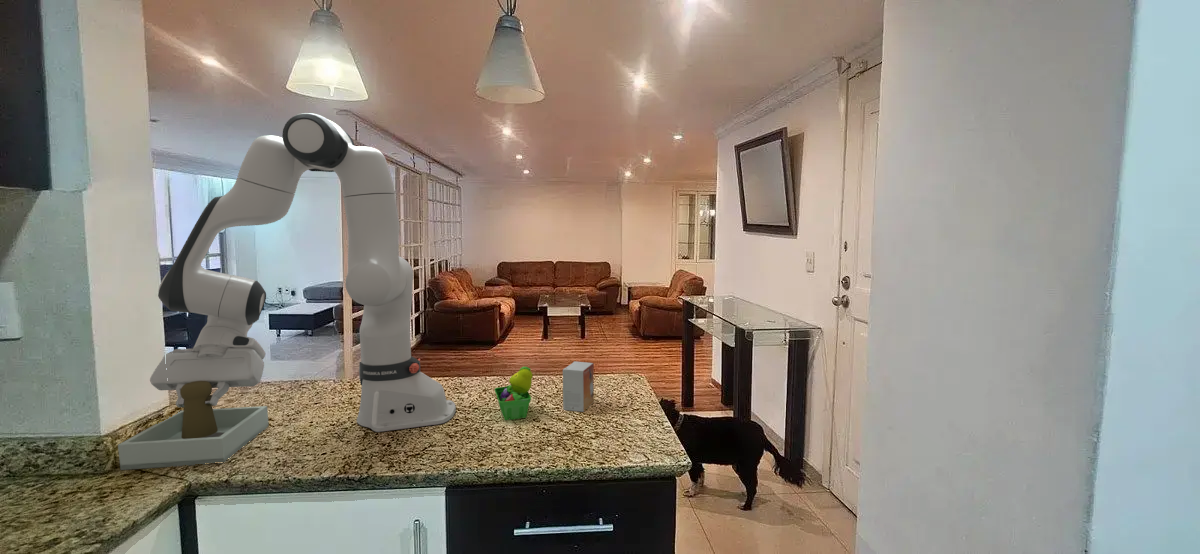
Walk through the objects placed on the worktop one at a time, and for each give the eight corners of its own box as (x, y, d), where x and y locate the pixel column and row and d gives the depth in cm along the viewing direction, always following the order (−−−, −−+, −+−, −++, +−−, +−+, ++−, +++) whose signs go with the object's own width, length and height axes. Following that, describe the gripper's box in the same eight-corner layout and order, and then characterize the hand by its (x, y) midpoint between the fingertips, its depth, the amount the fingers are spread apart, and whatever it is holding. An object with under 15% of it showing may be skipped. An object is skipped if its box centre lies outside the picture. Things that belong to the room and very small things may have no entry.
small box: (583, 412, 126) (583, 371, 125) (562, 410, 128) (562, 369, 127) (594, 402, 134) (594, 362, 133) (574, 399, 135) (574, 360, 134)
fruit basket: (494, 407, 130) (493, 363, 129) (528, 403, 133) (528, 360, 132) (499, 423, 120) (498, 376, 118) (537, 418, 122) (536, 372, 121)
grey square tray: (268, 427, 118) (267, 406, 118) (224, 463, 100) (222, 438, 100) (182, 432, 115) (180, 410, 115) (120, 470, 98) (117, 444, 97)
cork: (197, 440, 104) (193, 387, 103) (173, 437, 105) (169, 385, 104) (225, 429, 110) (221, 378, 109) (202, 426, 111) (198, 377, 110)
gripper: (159, 342, 111) (130, 401, 102) (262, 338, 114) (242, 396, 105) (175, 357, 116) (148, 414, 107) (273, 353, 119) (254, 409, 110)
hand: (195, 405), depth 106 cm, fingers closed on cork, 4 cm apart
